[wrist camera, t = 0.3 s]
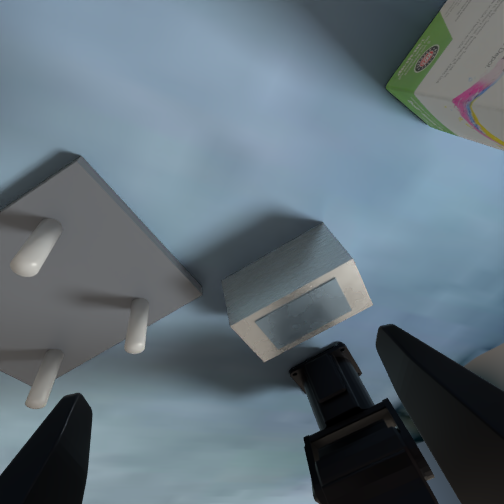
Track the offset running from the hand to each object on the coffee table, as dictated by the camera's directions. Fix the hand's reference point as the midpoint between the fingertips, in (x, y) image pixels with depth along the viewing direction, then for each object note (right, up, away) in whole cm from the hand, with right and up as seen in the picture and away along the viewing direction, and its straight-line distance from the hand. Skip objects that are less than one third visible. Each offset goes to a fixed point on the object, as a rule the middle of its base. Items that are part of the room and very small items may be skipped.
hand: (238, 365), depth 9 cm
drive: (+3, +2, +16) cm, 17 cm away
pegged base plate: (-13, +1, +13) cm, 18 cm away
